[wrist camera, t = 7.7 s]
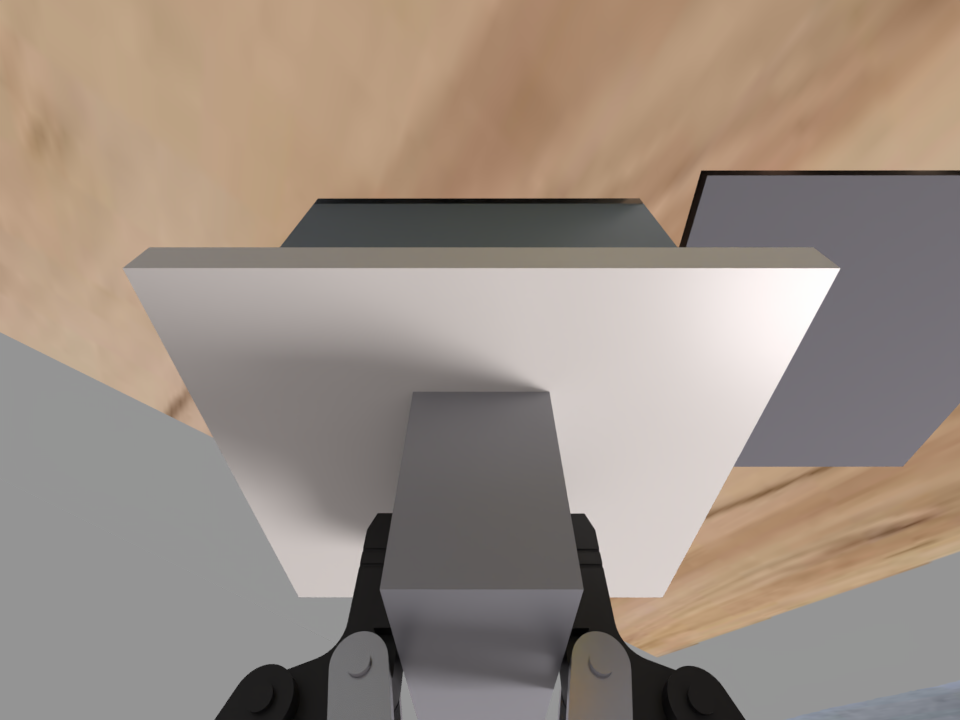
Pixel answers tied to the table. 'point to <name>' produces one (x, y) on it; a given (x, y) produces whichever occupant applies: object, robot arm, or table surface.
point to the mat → (852, 307)
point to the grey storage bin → (478, 223)
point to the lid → (481, 424)
